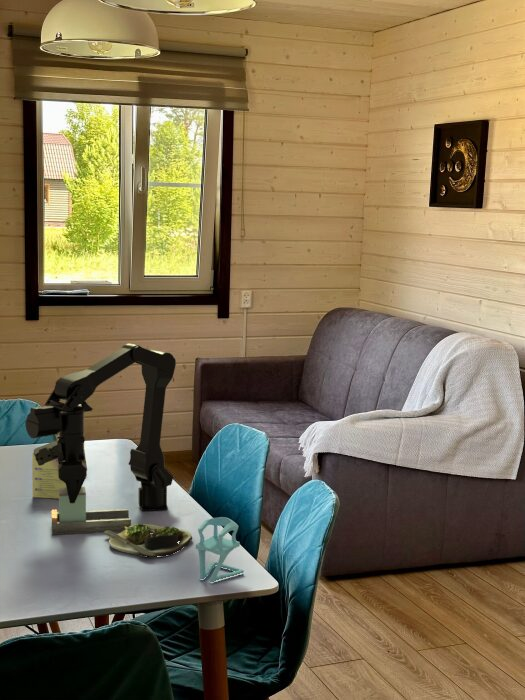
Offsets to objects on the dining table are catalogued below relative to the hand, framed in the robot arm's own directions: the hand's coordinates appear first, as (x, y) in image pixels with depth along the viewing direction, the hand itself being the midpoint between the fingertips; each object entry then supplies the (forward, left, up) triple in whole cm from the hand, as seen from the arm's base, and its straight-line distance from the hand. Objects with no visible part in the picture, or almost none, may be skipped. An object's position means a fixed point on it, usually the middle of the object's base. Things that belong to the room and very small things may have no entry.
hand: (71, 497), depth 214 cm
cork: (-2, -49, -8) cm, 50 cm away
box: (+4, -25, -8) cm, 27 cm away
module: (0, 0, -6) cm, 6 cm away
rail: (-4, 0, -7) cm, 9 cm away
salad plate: (-17, +14, -8) cm, 23 cm away
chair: (-28, +34, -8) cm, 45 cm away
